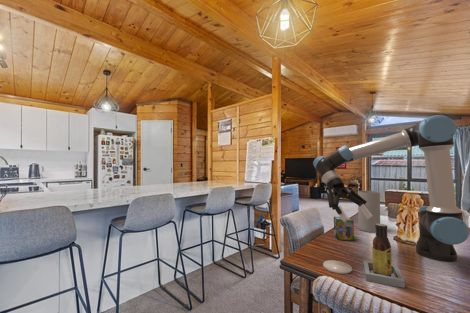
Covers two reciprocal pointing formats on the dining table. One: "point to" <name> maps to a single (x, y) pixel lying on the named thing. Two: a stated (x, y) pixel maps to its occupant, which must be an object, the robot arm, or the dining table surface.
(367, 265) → the pocket frame
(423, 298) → the dining table surface
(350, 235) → the chalk box
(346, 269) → the coaster
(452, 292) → the dining table surface
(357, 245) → the dining table surface
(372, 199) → the cylinder vase
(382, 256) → the sauce bottle
